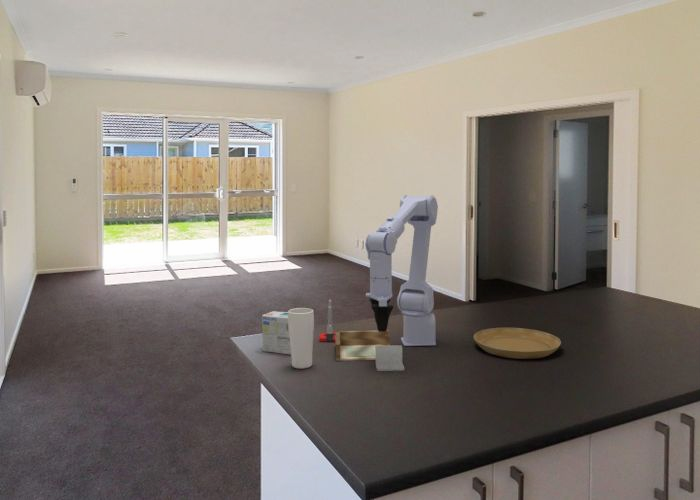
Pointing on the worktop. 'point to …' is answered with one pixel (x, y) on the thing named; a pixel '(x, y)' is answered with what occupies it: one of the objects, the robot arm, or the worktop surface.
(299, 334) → the drinking glass
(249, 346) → the worktop surface
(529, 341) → the plant saucer
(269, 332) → the light bulb box
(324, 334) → the tow hook
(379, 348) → the bracket
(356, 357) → the board
